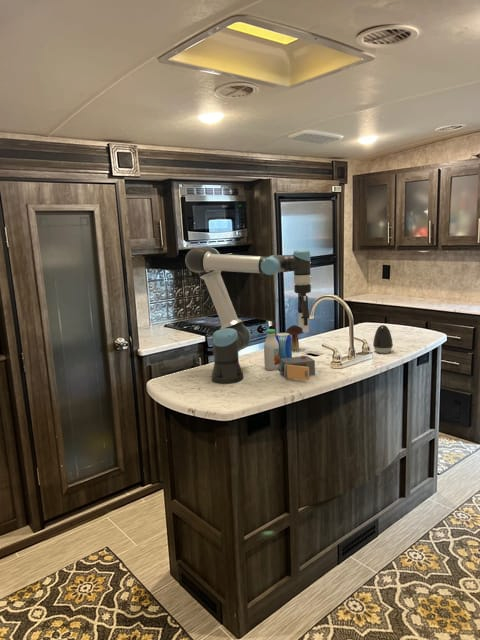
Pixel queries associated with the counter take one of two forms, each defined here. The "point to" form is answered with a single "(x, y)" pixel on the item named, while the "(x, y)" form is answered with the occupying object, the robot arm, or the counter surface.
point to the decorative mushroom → (294, 336)
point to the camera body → (298, 363)
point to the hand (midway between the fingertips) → (303, 329)
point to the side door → (296, 372)
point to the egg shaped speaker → (383, 340)
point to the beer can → (284, 345)
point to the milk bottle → (271, 351)
